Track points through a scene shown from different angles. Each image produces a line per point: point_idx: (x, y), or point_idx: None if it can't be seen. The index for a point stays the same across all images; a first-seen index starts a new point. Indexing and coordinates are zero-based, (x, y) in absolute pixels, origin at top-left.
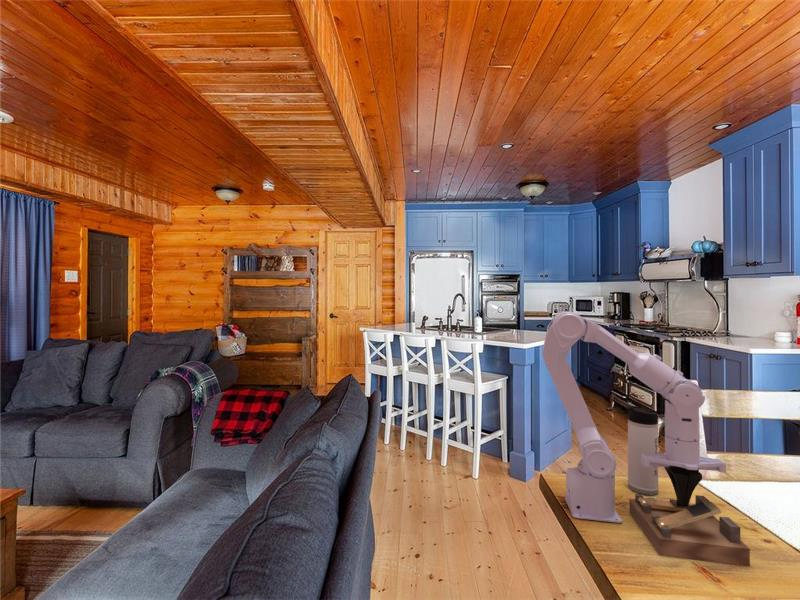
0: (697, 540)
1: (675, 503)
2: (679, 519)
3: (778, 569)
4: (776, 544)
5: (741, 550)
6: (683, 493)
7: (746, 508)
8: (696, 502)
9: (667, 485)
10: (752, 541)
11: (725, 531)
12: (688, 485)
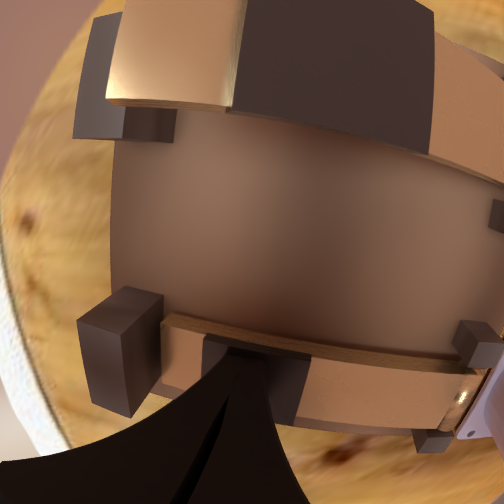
0: None
1: (296, 382)
2: (491, 86)
3: None
4: (16, 206)
5: None
6: (249, 415)
7: (21, 377)
8: (146, 386)
9: None
10: (60, 214)
11: None
12: (182, 467)
